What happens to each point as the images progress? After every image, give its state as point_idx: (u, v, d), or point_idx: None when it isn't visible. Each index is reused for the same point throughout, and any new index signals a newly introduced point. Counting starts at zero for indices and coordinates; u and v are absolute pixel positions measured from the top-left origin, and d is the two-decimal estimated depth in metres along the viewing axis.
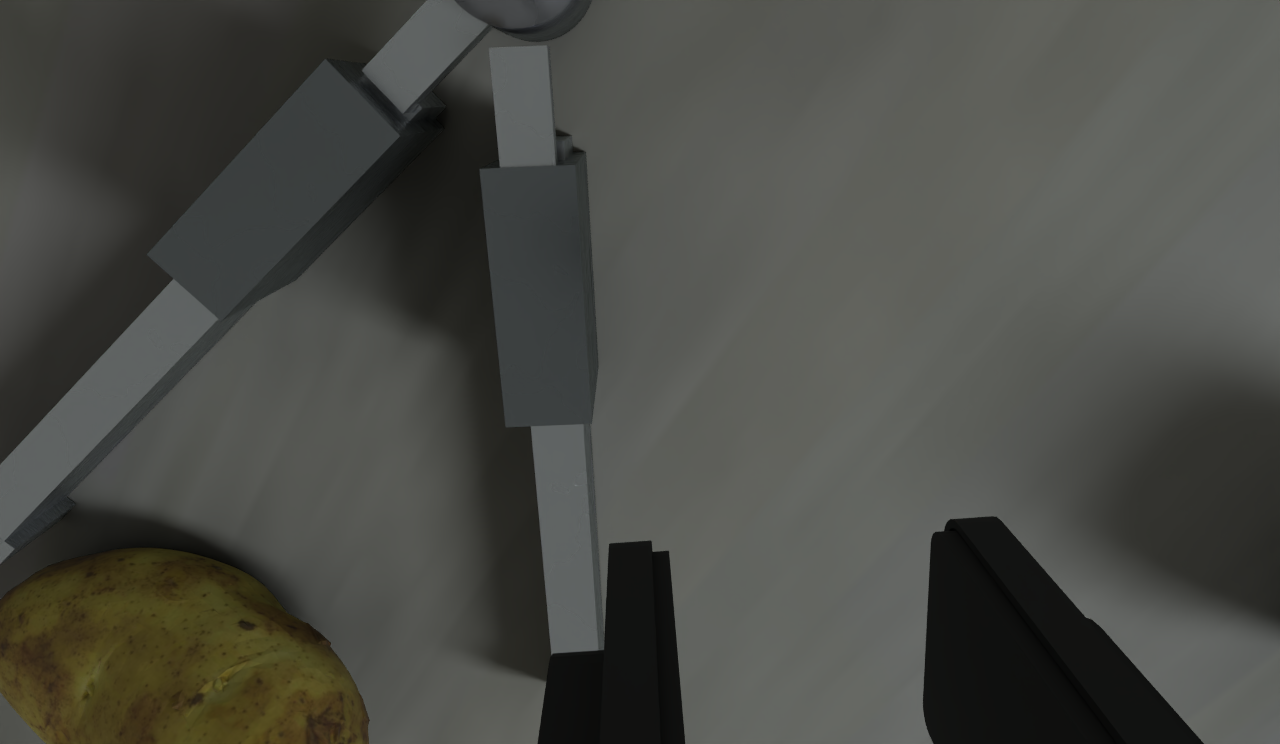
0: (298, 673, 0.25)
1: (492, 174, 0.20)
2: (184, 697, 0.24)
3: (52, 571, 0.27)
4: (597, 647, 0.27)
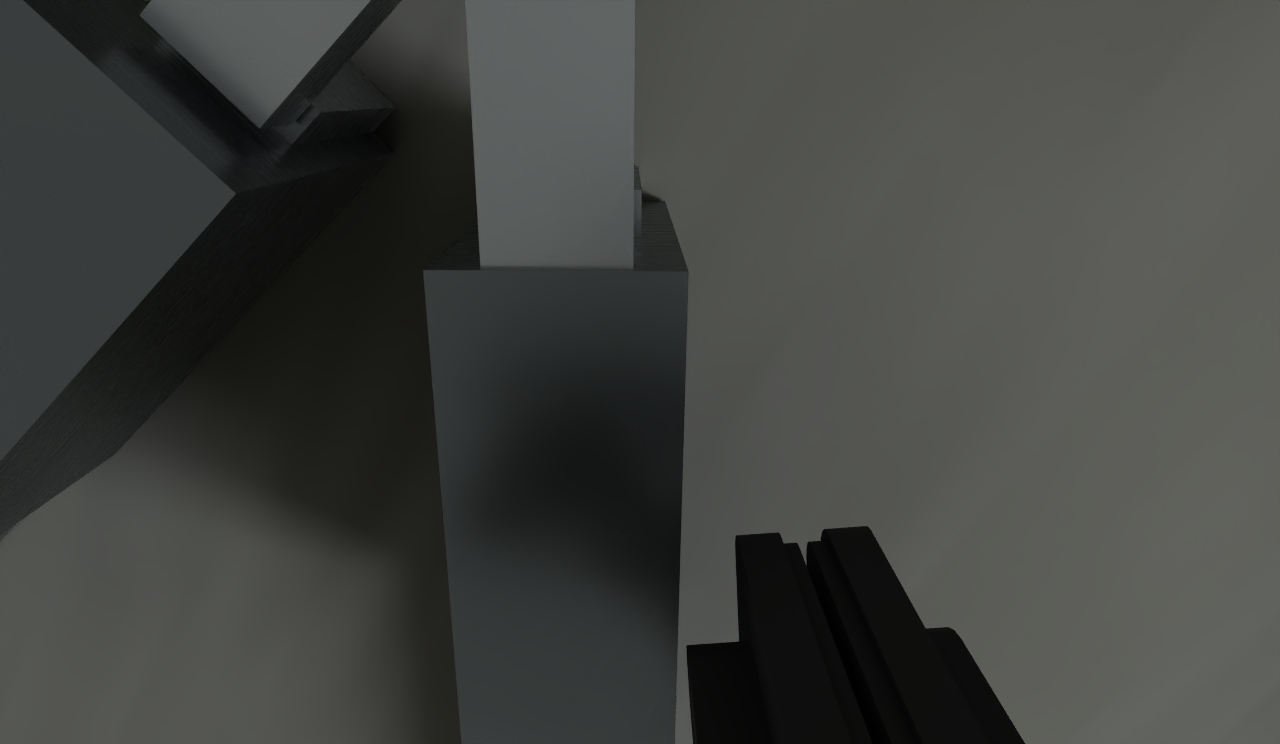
0: None
1: (459, 285, 0.07)
2: None
3: None
4: None
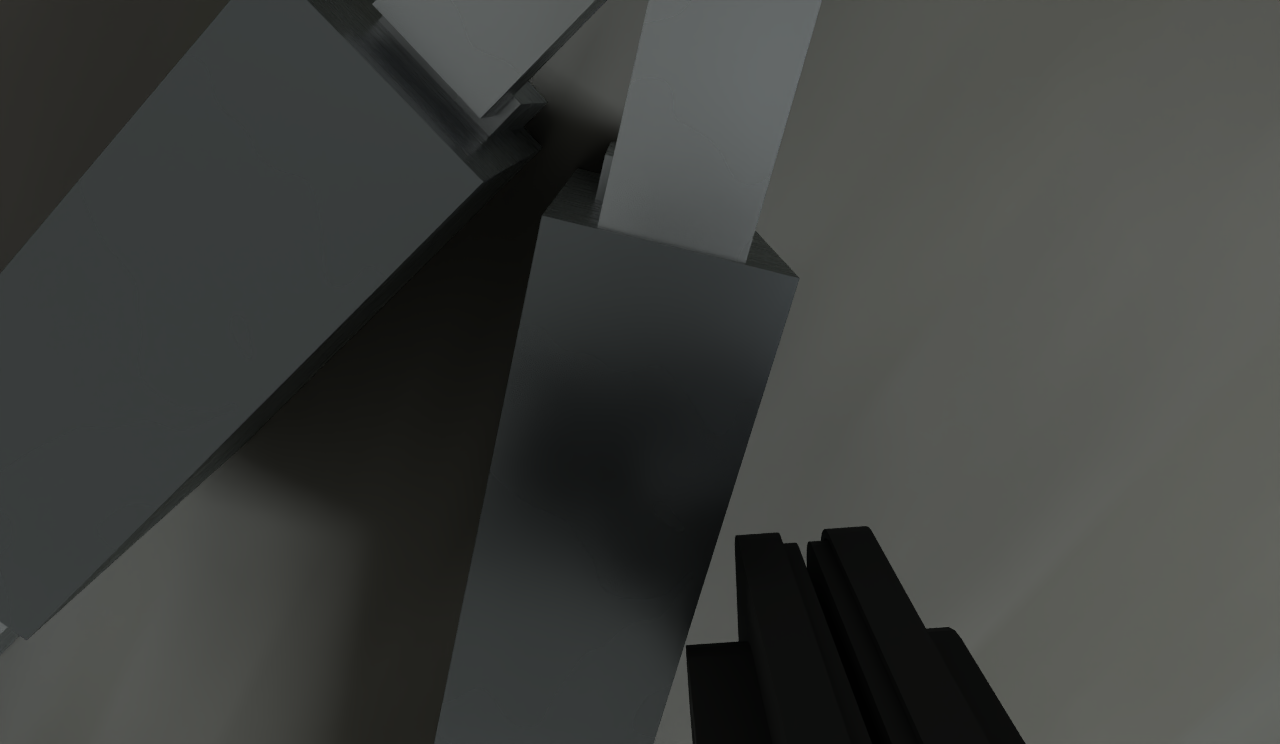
0: None
1: (572, 239, 0.07)
2: None
3: None
4: None
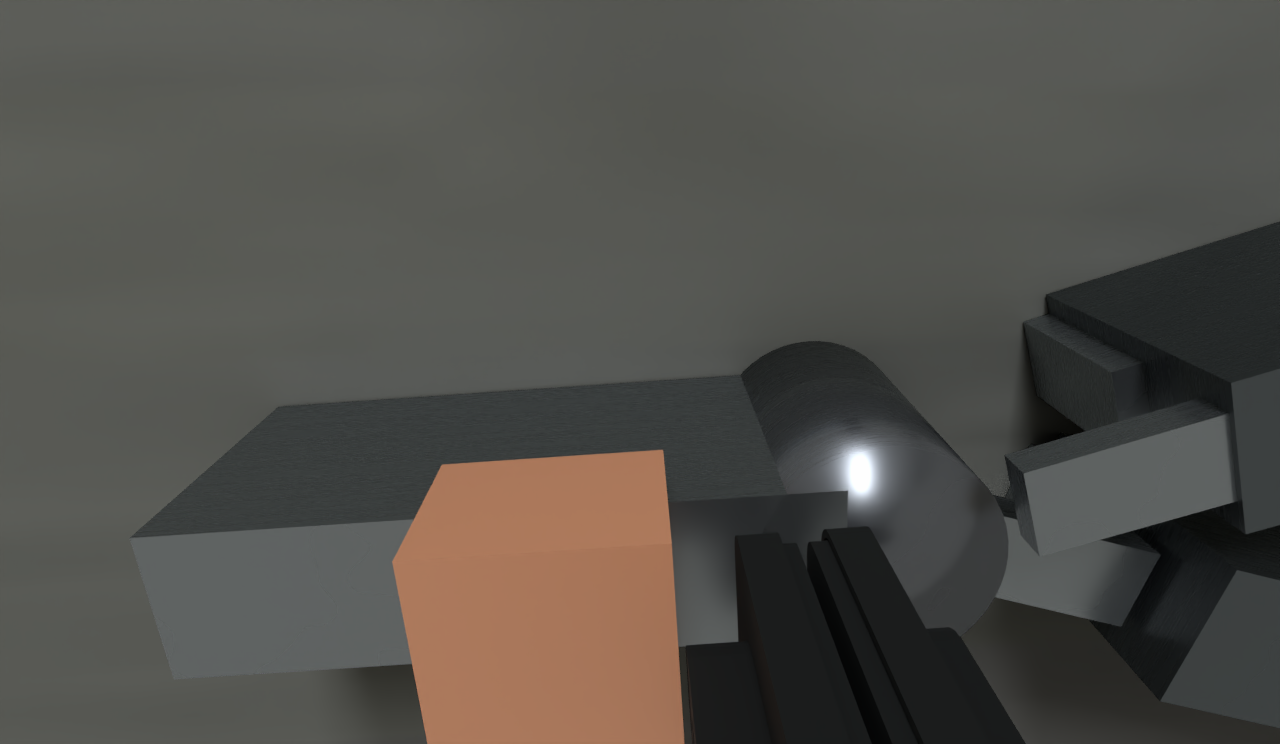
0: None
1: (1253, 512, 0.11)
2: None
3: None
4: None
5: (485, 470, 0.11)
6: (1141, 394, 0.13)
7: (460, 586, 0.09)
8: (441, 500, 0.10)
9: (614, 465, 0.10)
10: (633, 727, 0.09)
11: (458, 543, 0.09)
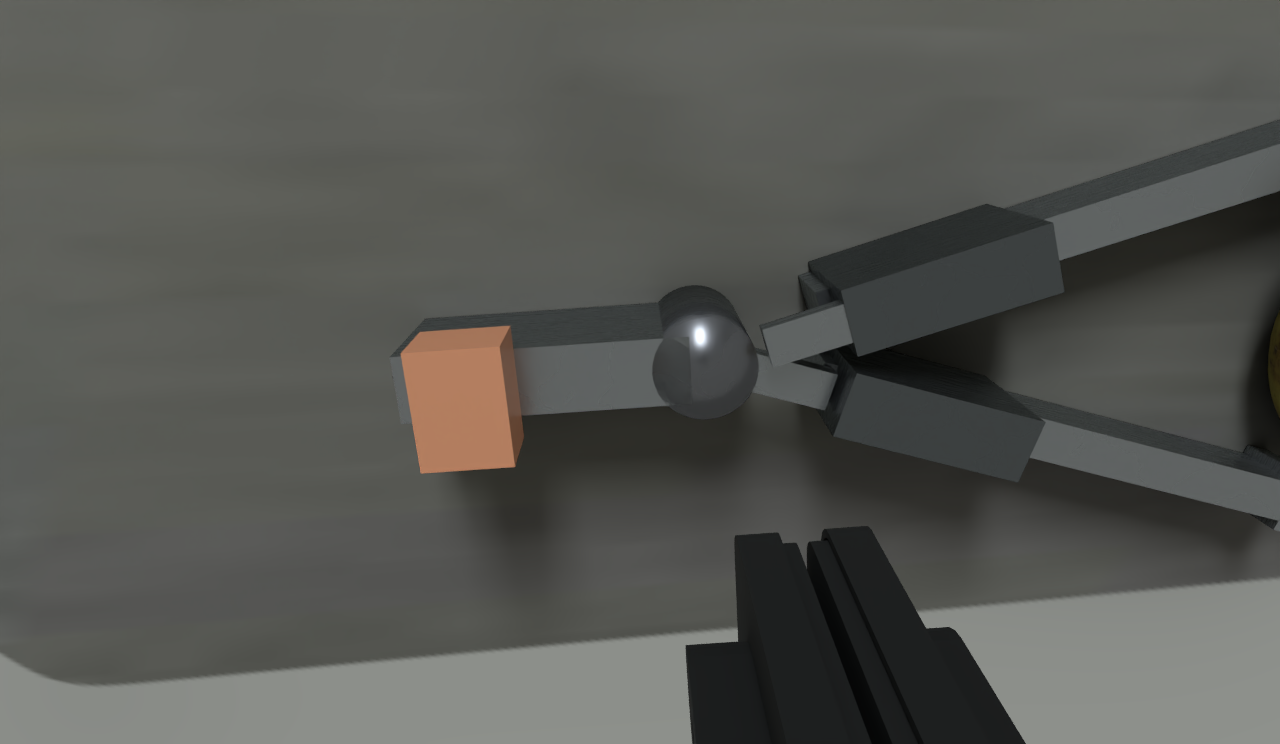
0: None
1: (859, 346, 0.27)
2: None
3: None
4: None
5: (437, 332, 0.26)
6: (830, 303, 0.28)
7: (424, 363, 0.24)
8: (418, 340, 0.26)
9: (488, 330, 0.26)
10: (490, 421, 0.25)
11: (424, 349, 0.24)
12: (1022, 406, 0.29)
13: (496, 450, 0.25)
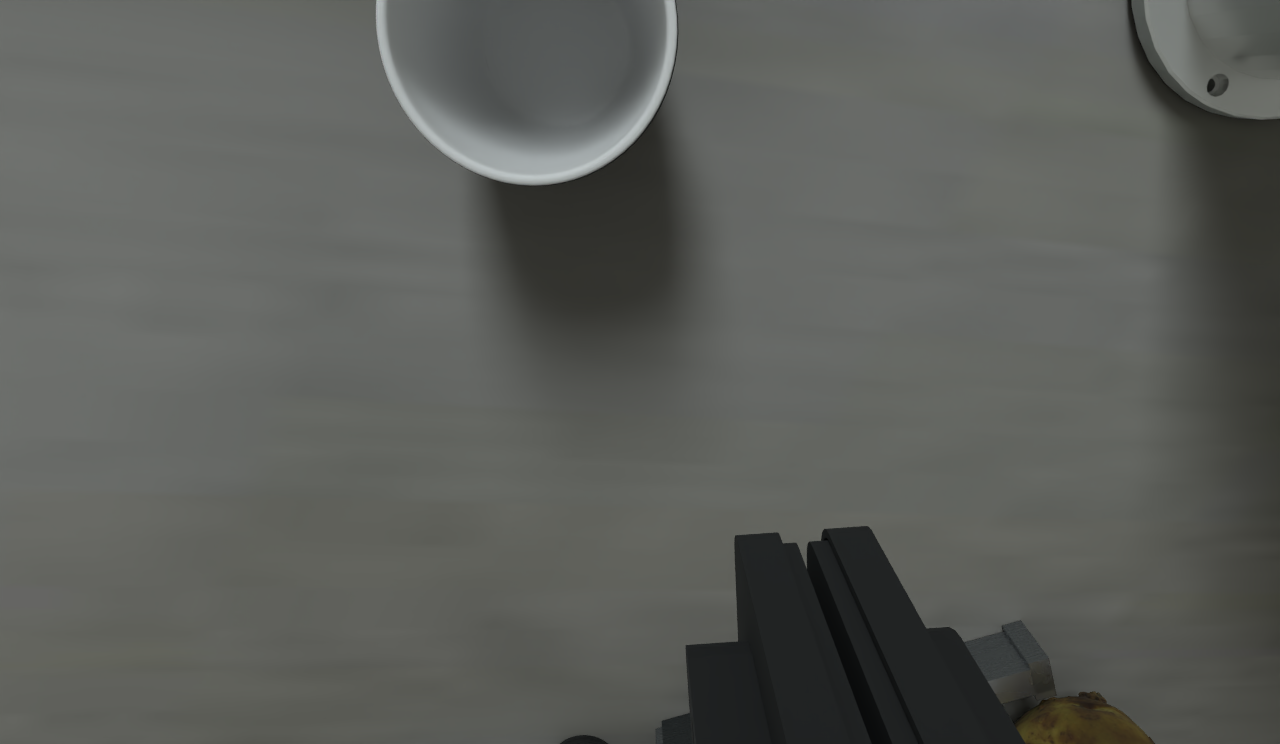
0: None
1: None
2: None
3: None
4: None
5: None
6: None
7: None
8: None
9: None
10: None
11: None
12: None
13: None
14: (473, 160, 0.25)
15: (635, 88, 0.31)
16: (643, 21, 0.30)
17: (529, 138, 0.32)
